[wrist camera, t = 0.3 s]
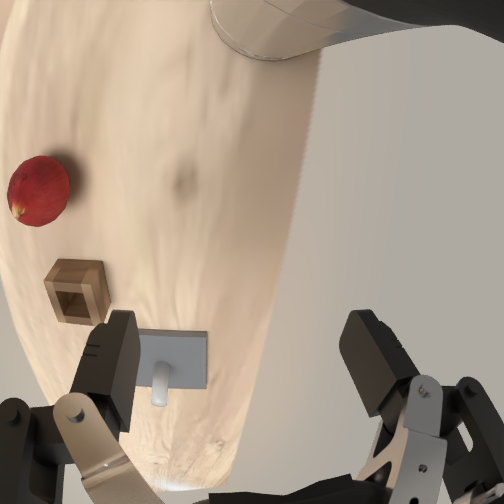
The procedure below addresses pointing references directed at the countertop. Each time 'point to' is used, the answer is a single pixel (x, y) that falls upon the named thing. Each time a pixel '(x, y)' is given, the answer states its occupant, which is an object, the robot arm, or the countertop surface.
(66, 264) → the ring
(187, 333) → the post stand
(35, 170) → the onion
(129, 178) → the countertop surface
